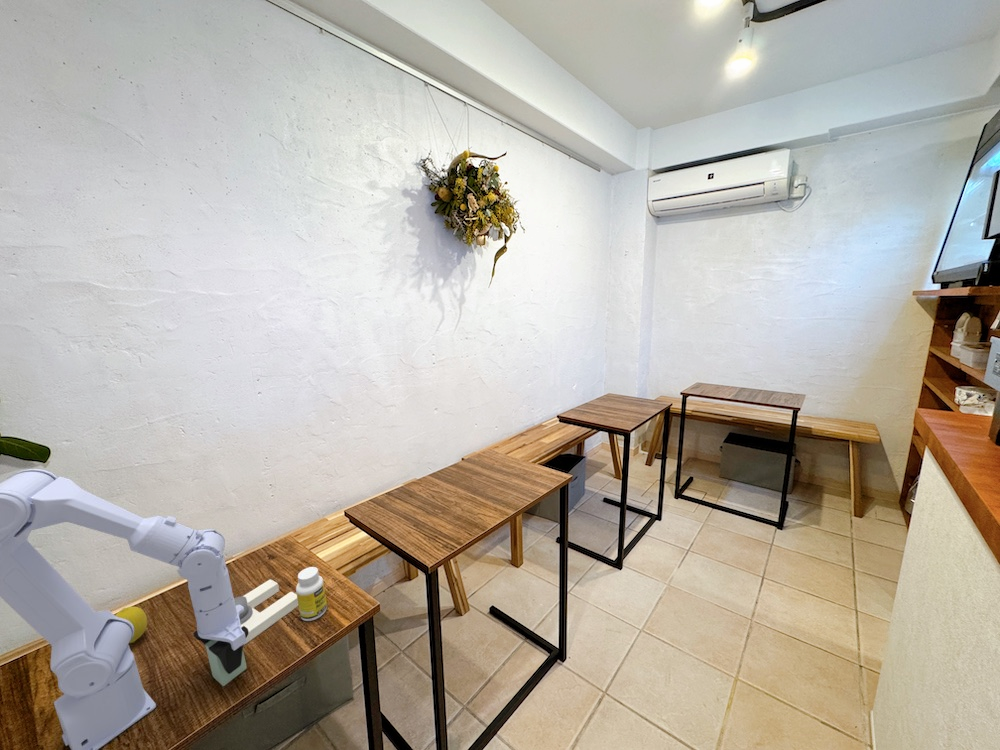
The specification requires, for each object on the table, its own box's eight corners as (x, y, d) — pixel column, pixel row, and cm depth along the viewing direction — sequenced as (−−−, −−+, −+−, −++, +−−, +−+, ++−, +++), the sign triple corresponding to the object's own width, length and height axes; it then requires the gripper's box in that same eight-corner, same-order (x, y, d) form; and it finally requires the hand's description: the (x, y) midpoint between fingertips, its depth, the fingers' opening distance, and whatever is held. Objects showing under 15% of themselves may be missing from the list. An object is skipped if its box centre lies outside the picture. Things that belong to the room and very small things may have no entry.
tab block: (223, 686, 70) (215, 653, 68) (212, 676, 72) (205, 644, 71) (246, 668, 73) (239, 636, 72) (236, 658, 75) (229, 627, 74)
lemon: (146, 626, 84) (138, 594, 83) (154, 638, 81) (145, 605, 80) (111, 645, 80) (101, 612, 78) (118, 658, 77) (108, 624, 75)
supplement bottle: (320, 621, 83) (313, 581, 81) (295, 622, 83) (288, 582, 81) (331, 602, 88) (325, 563, 86) (308, 603, 88) (301, 564, 87)
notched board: (228, 656, 76) (222, 632, 75) (200, 632, 82) (194, 609, 81) (300, 603, 88) (297, 582, 87) (271, 586, 95) (267, 566, 93)
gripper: (258, 598, 69) (271, 662, 72) (219, 573, 77) (232, 631, 79) (213, 628, 63) (229, 696, 66) (175, 597, 71) (191, 659, 73)
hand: (228, 663), depth 72 cm, fingers closed on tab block, 4 cm apart
